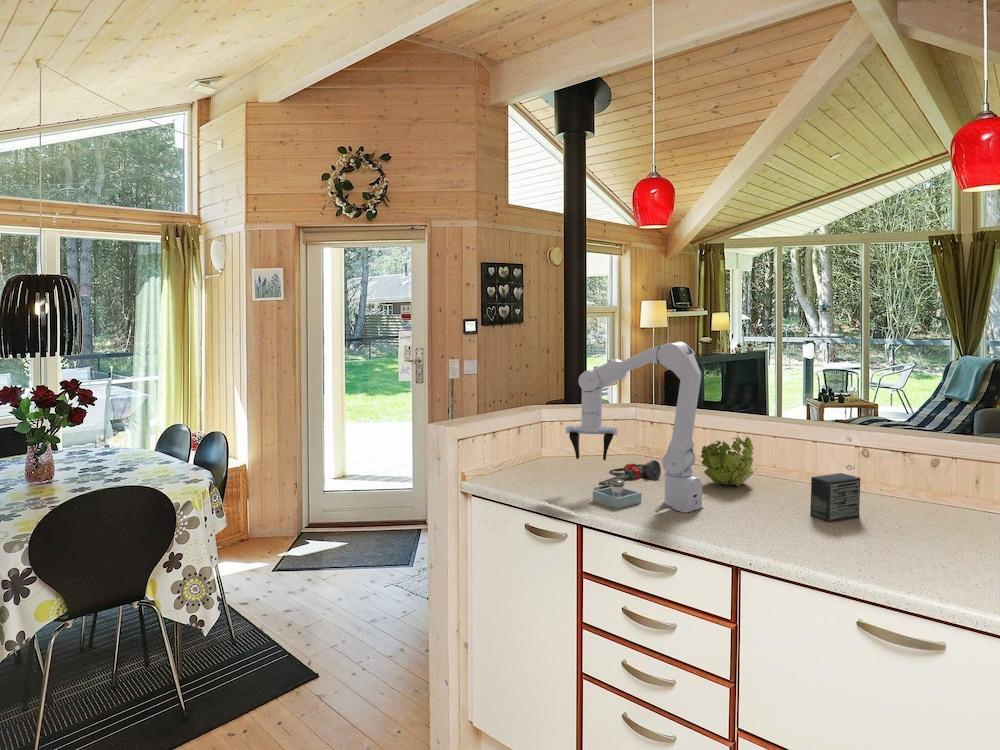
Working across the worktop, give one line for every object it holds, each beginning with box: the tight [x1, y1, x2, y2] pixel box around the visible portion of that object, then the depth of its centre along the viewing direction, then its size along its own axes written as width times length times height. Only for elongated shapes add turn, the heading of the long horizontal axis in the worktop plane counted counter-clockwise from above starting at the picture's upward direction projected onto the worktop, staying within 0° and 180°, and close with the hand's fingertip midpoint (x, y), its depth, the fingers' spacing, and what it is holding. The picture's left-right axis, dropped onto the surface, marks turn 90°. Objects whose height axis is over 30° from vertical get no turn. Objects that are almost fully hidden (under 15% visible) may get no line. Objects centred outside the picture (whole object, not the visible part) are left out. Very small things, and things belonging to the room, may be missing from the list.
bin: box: [592, 487, 642, 510], centre depth 184 cm, size 9×9×4 cm
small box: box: [809, 472, 861, 523], centre depth 173 cm, size 11×6×10 cm, turn 111°
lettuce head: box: [700, 435, 755, 488], centre depth 205 cm, size 18×16×16 cm
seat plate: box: [593, 485, 611, 491], centre depth 194 cm, size 6×6×2 cm
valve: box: [598, 460, 662, 486], centre depth 212 cm, size 6×26×15 cm
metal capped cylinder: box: [610, 479, 625, 498], centre depth 184 cm, size 4×4×6 cm
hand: (591, 458), depth 196 cm, fingers open, 7 cm apart
